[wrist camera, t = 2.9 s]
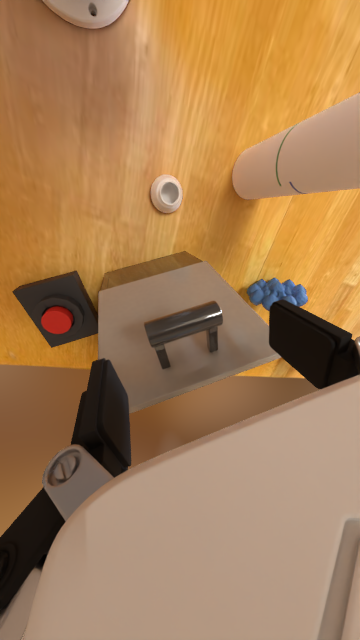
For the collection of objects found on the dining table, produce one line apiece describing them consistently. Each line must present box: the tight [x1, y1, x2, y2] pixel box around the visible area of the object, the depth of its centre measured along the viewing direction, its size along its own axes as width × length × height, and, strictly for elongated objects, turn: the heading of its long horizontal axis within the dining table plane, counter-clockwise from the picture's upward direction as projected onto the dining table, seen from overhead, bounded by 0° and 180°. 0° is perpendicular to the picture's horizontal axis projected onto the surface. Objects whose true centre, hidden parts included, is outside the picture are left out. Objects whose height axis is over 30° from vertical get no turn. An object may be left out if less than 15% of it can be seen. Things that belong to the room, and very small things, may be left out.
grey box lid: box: [98, 261, 281, 414], centre depth 19 cm, size 17×15×5 cm
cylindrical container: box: [232, 92, 360, 200], centre depth 23 cm, size 7×7×25 cm
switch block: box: [13, 271, 98, 348], centre depth 33 cm, size 11×9×4 cm
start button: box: [41, 306, 73, 334], centre depth 31 cm, size 4×4×2 cm
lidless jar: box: [150, 175, 183, 213], centre depth 30 cm, size 5×3×5 cm
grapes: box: [247, 278, 308, 311], centre depth 39 cm, size 12×7×12 cm, turn 94°
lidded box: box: [101, 251, 203, 291], centre depth 35 cm, size 16×15×10 cm
